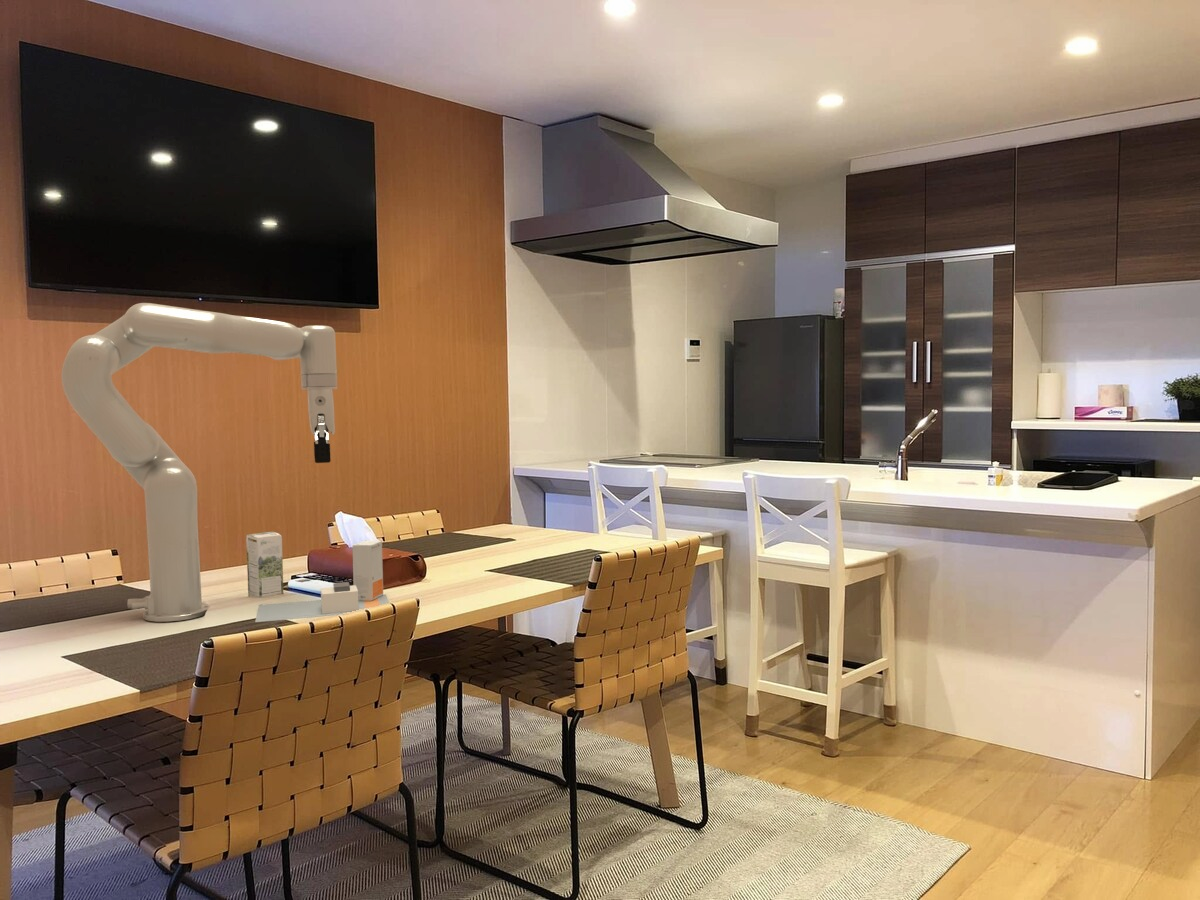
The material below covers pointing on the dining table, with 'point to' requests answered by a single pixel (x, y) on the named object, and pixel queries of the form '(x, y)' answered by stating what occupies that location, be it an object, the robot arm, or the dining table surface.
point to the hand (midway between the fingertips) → (322, 460)
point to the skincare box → (368, 569)
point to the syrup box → (264, 564)
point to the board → (305, 609)
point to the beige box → (339, 598)
